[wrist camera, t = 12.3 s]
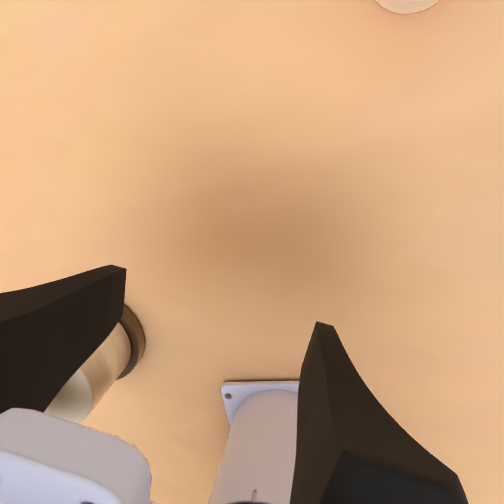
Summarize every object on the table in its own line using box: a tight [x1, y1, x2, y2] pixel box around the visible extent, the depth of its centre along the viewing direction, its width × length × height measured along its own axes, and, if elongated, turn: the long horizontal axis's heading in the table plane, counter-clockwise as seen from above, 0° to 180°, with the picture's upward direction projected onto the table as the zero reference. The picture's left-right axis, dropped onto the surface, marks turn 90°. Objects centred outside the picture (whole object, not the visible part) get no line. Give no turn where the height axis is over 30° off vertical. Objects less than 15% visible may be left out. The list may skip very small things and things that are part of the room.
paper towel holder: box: [44, 305, 144, 424], centre depth 23 cm, size 7×7×13 cm
